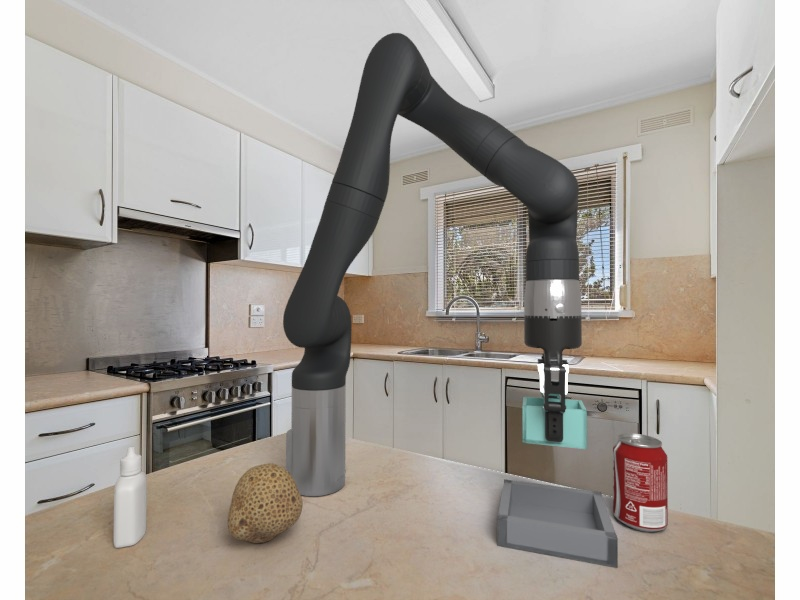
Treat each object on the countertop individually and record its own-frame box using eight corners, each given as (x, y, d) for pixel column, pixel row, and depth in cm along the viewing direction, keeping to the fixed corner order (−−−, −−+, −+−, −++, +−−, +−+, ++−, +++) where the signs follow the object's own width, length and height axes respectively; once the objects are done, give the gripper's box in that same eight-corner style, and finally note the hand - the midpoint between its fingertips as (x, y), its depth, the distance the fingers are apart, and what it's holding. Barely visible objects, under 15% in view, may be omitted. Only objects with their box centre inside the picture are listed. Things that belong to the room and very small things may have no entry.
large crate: (497, 545, 53) (497, 518, 53) (504, 501, 65) (504, 479, 65) (617, 567, 48) (617, 538, 49) (601, 515, 60) (601, 492, 60)
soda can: (676, 538, 55) (676, 449, 55) (621, 532, 56) (621, 445, 56) (655, 513, 61) (655, 433, 61) (607, 508, 63) (607, 430, 63)
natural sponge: (313, 528, 57) (314, 456, 57) (279, 568, 48) (280, 483, 48) (256, 519, 59) (257, 450, 59) (214, 556, 50) (215, 475, 51)
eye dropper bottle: (97, 547, 52) (98, 454, 52) (132, 524, 58) (133, 439, 58) (127, 551, 51) (128, 456, 52) (160, 527, 57) (161, 441, 57)
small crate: (522, 442, 55) (522, 405, 55) (523, 429, 61) (523, 396, 61) (587, 449, 53) (586, 410, 53) (581, 435, 58) (581, 400, 58)
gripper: (525, 312, 65) (525, 417, 65) (523, 314, 51) (523, 447, 51) (576, 312, 63) (576, 421, 62) (587, 314, 49) (589, 454, 49)
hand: (553, 432), depth 57 cm, fingers closed on small crate, 6 cm apart
